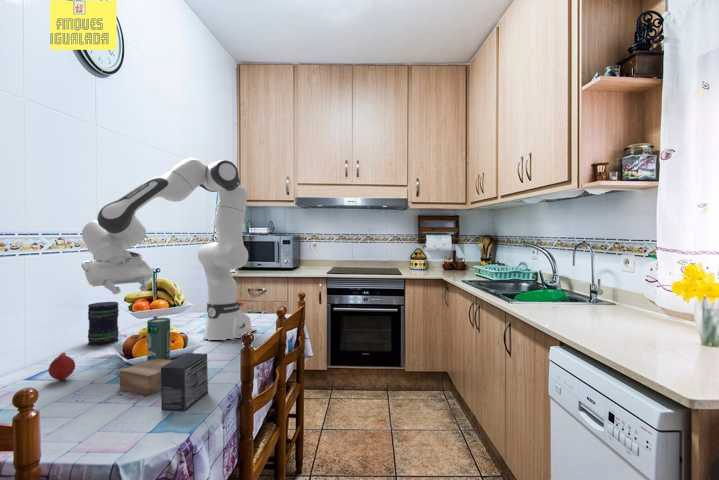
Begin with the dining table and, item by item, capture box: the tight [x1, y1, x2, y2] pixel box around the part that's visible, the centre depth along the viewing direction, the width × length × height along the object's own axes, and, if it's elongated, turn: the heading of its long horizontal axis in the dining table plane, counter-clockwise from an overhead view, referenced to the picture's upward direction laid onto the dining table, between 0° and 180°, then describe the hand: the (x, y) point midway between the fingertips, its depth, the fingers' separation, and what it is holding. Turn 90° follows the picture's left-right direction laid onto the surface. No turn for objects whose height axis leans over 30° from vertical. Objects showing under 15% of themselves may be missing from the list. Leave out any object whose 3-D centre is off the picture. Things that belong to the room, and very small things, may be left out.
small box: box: [160, 352, 209, 412], centre depth 90 cm, size 11×6×10 cm, turn 174°
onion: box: [48, 351, 76, 382], centre depth 103 cm, size 6×6×8 cm
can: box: [146, 317, 171, 361], centre depth 114 cm, size 6×6×15 cm
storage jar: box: [87, 301, 120, 347], centre depth 142 cm, size 10×10×15 cm
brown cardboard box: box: [119, 358, 172, 397], centre depth 101 cm, size 11×11×5 cm
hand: (131, 291), depth 119 cm, fingers open, 8 cm apart
